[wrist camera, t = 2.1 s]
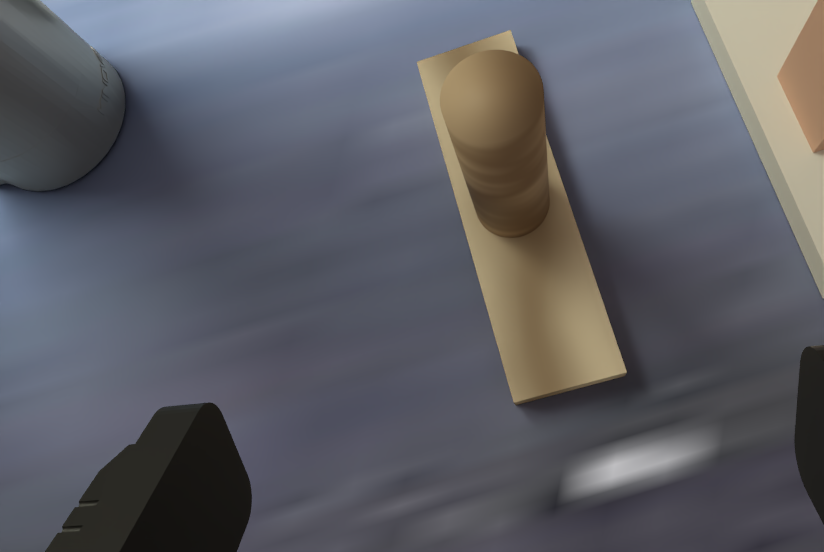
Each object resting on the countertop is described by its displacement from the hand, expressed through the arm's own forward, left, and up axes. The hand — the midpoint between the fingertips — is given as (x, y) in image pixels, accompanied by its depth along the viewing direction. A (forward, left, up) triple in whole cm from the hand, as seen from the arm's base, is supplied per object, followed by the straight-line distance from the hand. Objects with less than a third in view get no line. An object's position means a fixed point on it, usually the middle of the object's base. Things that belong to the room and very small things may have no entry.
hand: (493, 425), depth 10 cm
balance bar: (+2, +11, -23) cm, 25 cm away
